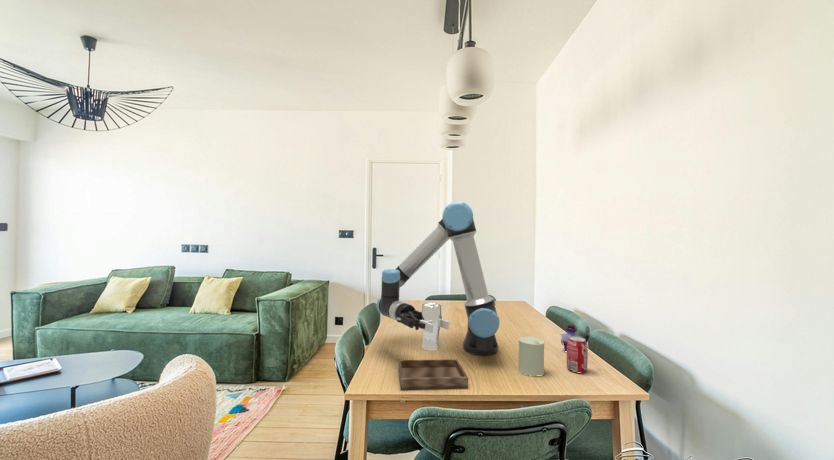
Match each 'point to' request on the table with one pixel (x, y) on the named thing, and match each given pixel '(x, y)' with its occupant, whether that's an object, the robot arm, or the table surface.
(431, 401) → the table surface
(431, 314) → the beer glass
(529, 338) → the can
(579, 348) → the soda can
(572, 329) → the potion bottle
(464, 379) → the walnut tray
